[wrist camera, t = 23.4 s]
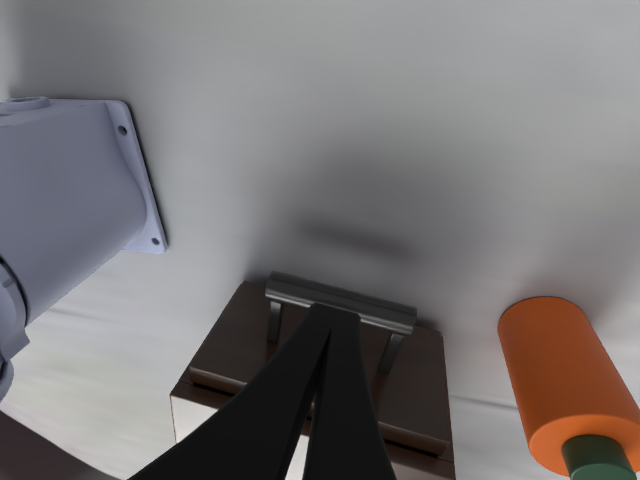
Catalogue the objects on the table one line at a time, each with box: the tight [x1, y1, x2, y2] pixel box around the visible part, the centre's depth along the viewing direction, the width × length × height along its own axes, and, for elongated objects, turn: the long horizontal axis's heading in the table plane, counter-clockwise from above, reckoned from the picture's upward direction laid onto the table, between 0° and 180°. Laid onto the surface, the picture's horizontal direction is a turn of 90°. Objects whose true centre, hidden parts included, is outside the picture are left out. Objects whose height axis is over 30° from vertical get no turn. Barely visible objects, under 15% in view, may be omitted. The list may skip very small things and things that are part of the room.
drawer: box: [190, 271, 450, 455], centre depth 22 cm, size 18×12×7 cm
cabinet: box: [170, 284, 456, 480], centre depth 24 cm, size 15×14×9 cm
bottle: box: [498, 297, 640, 480], centre depth 18 cm, size 5×5×8 cm
